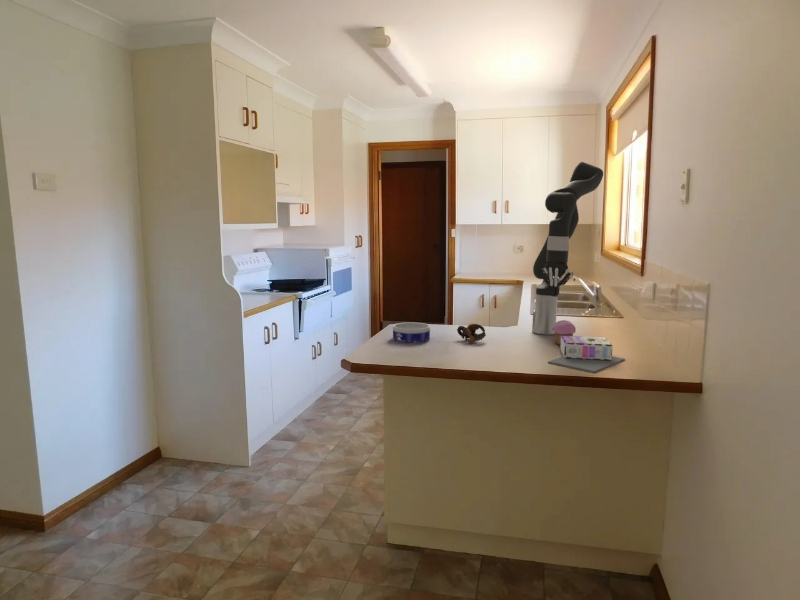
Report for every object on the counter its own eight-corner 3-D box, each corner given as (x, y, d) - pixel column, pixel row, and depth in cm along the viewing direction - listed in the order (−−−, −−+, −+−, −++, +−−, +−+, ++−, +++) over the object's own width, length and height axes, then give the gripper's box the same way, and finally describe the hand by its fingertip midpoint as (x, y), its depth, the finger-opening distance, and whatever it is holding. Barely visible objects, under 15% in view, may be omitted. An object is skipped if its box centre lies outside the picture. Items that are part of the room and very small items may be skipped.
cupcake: (568, 342, 226) (569, 318, 224) (578, 346, 217) (580, 322, 216) (547, 342, 224) (549, 318, 223) (557, 347, 216) (558, 322, 214)
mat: (548, 363, 193) (548, 361, 192) (580, 351, 209) (580, 350, 209) (594, 372, 181) (594, 371, 181) (624, 360, 198) (624, 358, 198)
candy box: (563, 358, 197) (612, 360, 194) (564, 342, 196) (613, 344, 193) (560, 350, 210) (605, 352, 207) (560, 335, 209) (606, 336, 206)
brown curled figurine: (485, 340, 230) (489, 325, 225) (479, 354, 223) (483, 339, 218) (457, 331, 232) (461, 316, 227) (451, 345, 225) (455, 330, 220)
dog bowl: (386, 341, 224) (386, 326, 224) (403, 334, 238) (403, 320, 237) (419, 345, 217) (420, 330, 217) (435, 338, 231) (435, 324, 230)
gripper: (536, 248, 200) (533, 295, 203) (569, 250, 191) (565, 299, 194) (546, 247, 206) (543, 293, 208) (579, 249, 196) (576, 297, 199)
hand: (554, 296), depth 201 cm, fingers closed
